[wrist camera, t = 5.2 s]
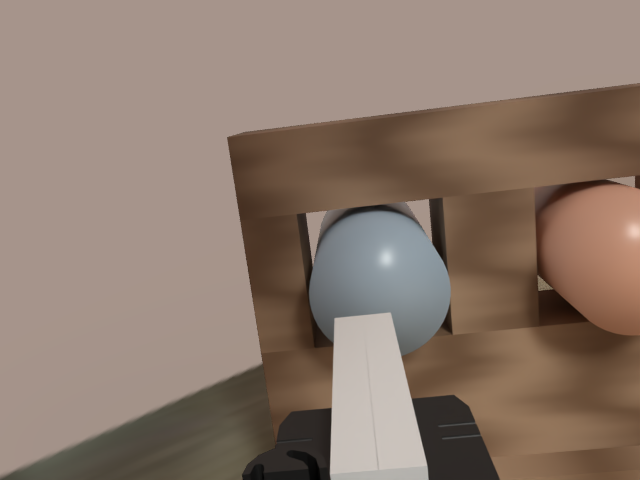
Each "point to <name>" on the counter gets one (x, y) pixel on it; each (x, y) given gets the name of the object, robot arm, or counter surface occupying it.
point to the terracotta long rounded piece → (592, 249)
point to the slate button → (379, 272)
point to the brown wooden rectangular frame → (458, 268)
